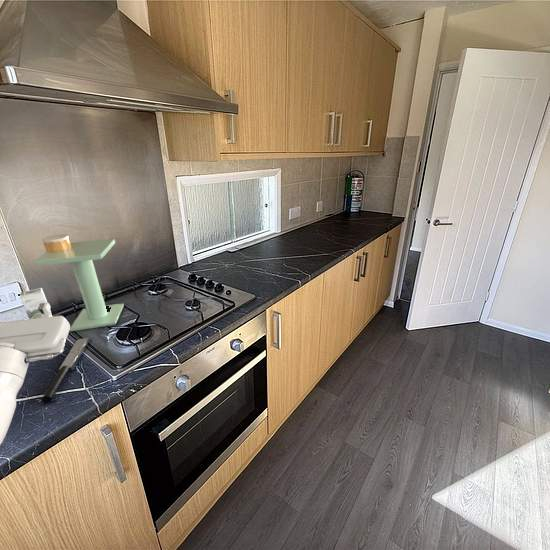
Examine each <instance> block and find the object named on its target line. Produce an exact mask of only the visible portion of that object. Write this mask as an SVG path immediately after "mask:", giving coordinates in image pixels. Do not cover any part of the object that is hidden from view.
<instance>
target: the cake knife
mask: <svg viewBox="0 0 550 550" xmlns="http://www.w3.org/2000/svg"><path fill="white" fill-rule="evenodd" d="M89 342H90V339H89V338H88V337H85V338H79V339H77V340H76V341H75V343H74V344H73V345H72V348H71V349H70V351H69V352H68V354H67V356H65V358H64V360H63V362H61V365H60V367H59V368H58V372H57V373H56V375H55V377H54V378H53V380H52V382H51V383H50V385H49V387H48V388H47V390H46V391H45V393H44V395H43V396H42V398H41V401H42V402H43V403H45V404H48V403H52V401H53V399H54V397H55V396H56V394H57V393H58V390H59V389H60V387H61V385H62V384H63V382H64V380H65V379H66V376H67V375H68V373H69V372H73V371H74V370H75V367H76V365H77V364H78V361H80V358H81V356H82V354H83V353H84V351H85V349H86V347H87V345H89Z"/></svg>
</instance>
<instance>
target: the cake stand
mask: <svg viewBox="0 0 550 550" xmlns="http://www.w3.org/2000/svg"><path fill="white" fill-rule="evenodd" d="M41 240H42V243H43V246H44V249H45V252H44V253H43V254H41V255H40V256H37V258H36V259H34V260H32V264H33V265H34V267H37V266H38V267H39V266H47V265H48V266H49V265H57V264H67V263H70V265H71V269H72V271H73V274H74V277H75V280H76V284H77V286H78V290H79V292H80V296H81V298H82V302H83V305H84V308H82V310H81V312H80V313H79V314H78V316H77V317H76V319H75V320H74V322H73V323H72V325H70V330H69V332H76V331H82V330H90V329H95V328H102V327H109V326H115V325H117V324H118V323H117V322H118V320H119V318H120V317H121V314H122V311H123V309H124V306H125V304H124V303H115V304H109V305H108V306H109V308H110V307H111V309H110V312H107V309H106V306H107V305H106V302H105V299H104V296H103V292H102V289H101V285H100V282H99V278H98V275H97V272H96V267H95V264H94V261H95V260H96V261H97V260H102V259H103V258H104V257H105V256H106V255H107V253H108V252H109V251H110V250H111V249H112V248H113V246H114V245H115V244H116V240H115V238H110V239H109V238H108V239H99V240H98V239H97V240H88V241H86V240H85V241H77V242H75V241H74V242H71V239H70V236H69V234H62V233H60V234H54V235H53V234H52V235H48V236H45V237H43V238H42V239H41Z"/></svg>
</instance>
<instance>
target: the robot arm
mask: <svg viewBox="0 0 550 550" xmlns="http://www.w3.org/2000/svg"><path fill="white" fill-rule="evenodd" d="M39 305H40V306H39V307H38V310H39V311H40V313H41V314H44V313H45V315H41V318H35V319H29V318H28V319H27V318H25V319H19V320H9V321H0V446H1V444H3V442H4V439H5V438H6V436H7V433H8V431H9V428H10V426H11V423H12V420H13V417H14V414H15V411H16V408H17V396H18V393H19V391H20V390H21V388H22V387H23V384H24V381H25V378H26V375H27V372H28V368H29V365H30V363H36V362H42V361H50V360H54V358H56V357H58V356H60V355H62V354H63V352H64V351H65V347H66V340H67V339H68V336H69V333H70V327H71V324H70V322H69V321H68V319H67V318H65V317H64V315H55V316H54V315H52V316H53V317H52V316H51V314H52V313H51V314H50V313H49V311H51V308H52V307H51V304H50V303H49V302H47V303H40V304H39Z"/></svg>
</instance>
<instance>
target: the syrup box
mask: <svg viewBox="0 0 550 550" xmlns="http://www.w3.org/2000/svg"><path fill="white" fill-rule="evenodd" d="M19 294H20V295H19V296H20V300H21V301H20V302H21V303H22V306H23V308H24V310H25V312H26V315H27V318H28V319H35V318H41V315H45V313H44V314H41V313H40V311H39V310H38V307H39V306H40V305H39V304H40V303H48V301H47V297H46V295H45V292H44V289H43V288H42V287H38V288H35V289H31V290H25V291H22V292H20V293H19ZM49 313H50V314H51V316H52V317H53V316H54V315H52V311H51V310H50V311H49Z"/></svg>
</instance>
